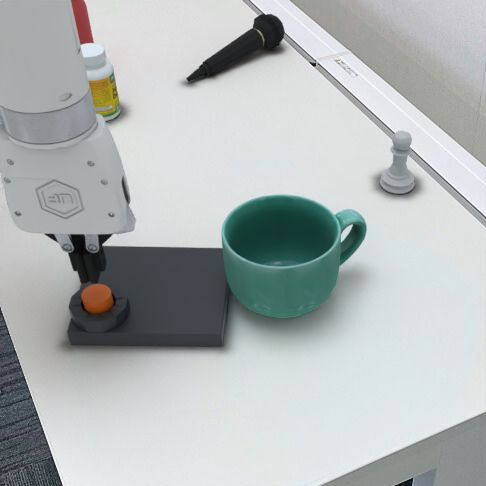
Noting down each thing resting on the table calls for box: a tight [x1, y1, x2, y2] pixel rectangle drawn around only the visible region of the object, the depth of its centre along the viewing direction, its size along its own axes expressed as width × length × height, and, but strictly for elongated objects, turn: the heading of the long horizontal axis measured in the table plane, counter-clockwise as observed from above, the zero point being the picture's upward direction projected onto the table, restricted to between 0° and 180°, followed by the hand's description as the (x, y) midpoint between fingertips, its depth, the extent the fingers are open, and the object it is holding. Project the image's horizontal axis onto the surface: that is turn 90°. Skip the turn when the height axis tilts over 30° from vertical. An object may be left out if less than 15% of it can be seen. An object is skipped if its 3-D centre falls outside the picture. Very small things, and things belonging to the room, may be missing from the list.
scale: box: [66, 245, 230, 347], centre depth 85 cm, size 16×14×4 cm
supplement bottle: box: [81, 42, 122, 122], centre depth 109 cm, size 5×5×10 cm
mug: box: [221, 193, 368, 319], centre depth 85 cm, size 17×13×10 cm
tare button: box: [81, 284, 114, 314], centre depth 81 cm, size 3×3×2 cm
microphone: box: [186, 13, 286, 83], centre depth 123 cm, size 6×6×20 cm
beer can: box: [71, 0, 95, 45], centre depth 115 cm, size 7×7×12 cm
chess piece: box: [379, 130, 416, 195], centre depth 101 cm, size 5×5×8 cm
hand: (92, 274), depth 78 cm, fingers closed
